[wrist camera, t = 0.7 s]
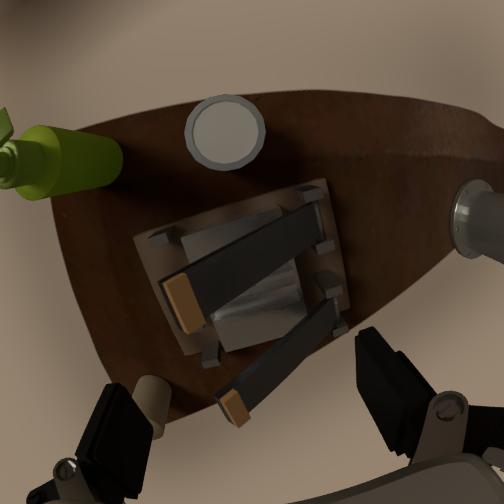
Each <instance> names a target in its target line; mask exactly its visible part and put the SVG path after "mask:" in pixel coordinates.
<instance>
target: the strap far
mask: <svg viewBox="0 0 504 504" xmlns="http://www.w3.org/2000/svg"><path fill="white" fill-rule="evenodd" d="M340 323H341V315H340V309H339V303H338V297H337V296H335V297H332V298H329V299H327V298H326V297H325V298H324V299H323V300H322V301H321V302H320V303H319V304H318V305H317V306H315V307H314V308H313V309H312V310H311V311H310V312H309V313H308V314H307V315H306V316H305V317H304V318H303V319H302V320H301V321H300V322H299V323H298V324H296V325H295V326H294V327H293V328H292V329H291V330H290V331H289V332H288V333H287V334H286V335H284V336H283V337H282V338H281V339H280V340H279V341H278V342H277V343H276V344H274V345H273V346H272V347H271V348H270V349H269V350H268V351H266V352H265V353H264V354H263V355H262V356H261V357H259V358H258V359H257V360H256V361H255V362H254V363H252V364H251V365H250V366H249V367H248V368H247V369H245V370H244V371H243V372H242V373H240V374H239V375H238V376H237V377H236V378H234V379H233V380H232V381H231V382H229V383H228V384H227V385H226V386H224V387H223V388H222V389H221V390H219V391H218V392H217V393H216V394H214V395H213V396H214V398H215V400H216V401H217V403H218V405H219V406H220V408H221V410H222V412H223V413H224V415H225V417H226V418H227V420H228V421H229V422H230V423H232V424H233V425H235V426H236V427H238V428H240V427H241V426H242V425H243V424H245V423H246V422H247V421H248V420H249V419H250V418H251V417H250V415H249V412H250V411H251V410H252V409H253V408H255V407H256V406H257V405H258V404H259V403H260V402H261V401H262V400H263V399H265V398H266V397H267V396H268V395H269V394H270V393H271V392H272V391H273V390H274V389H275V388H276V387H277V386H278V385H279V384H280V383H281V382H282V381H283V380H284V379H285V378H287V377H288V375H290V374H291V372H293V370H295V369H296V368H297V367H298V365H299V364H300V363H301V362H302V361H303V360H304V359H305V358H306V357H307V356H308V355H309V354H310V353H311V352H312V351H313V350H314V349H315V348H316V347H317V346H318V344H319V343H320V342H321V341H322V340H323V339H324V338H325V337H326V336H327V335H328V333H329V332H330V331H331V330H332V329H333V328H334V327H335V326H336V325H339V324H340Z"/></svg>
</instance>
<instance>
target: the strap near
mask: <svg viewBox="0 0 504 504" xmlns="http://www.w3.org/2000/svg"><path fill="white" fill-rule="evenodd" d="M324 239H326V235H325V230H324V226H323V221H322V217H321V213H320V208H319V204H318V200H314V201H311V202H307V203H306V204H304V205H302V206H300V207H298V208H296V209H294V210H293V211H291V212H289V213H287V214H285V215H283V216H281V217H279V218H277V219H275V220H273V221H271V222H269V223H267V224H265V225H263V226H261V227H259V228H257V229H255V230H253V231H252V232H250V233H248V234H246V235H244V236H242V237H240V238H238V239H236V240H234V241H232V242H230V243H228V244H227V245H225V246H223V247H221V248H219V249H217V250H215V251H213V252H211V253H209V254H208V255H206V256H204V257H202V258H200V259H198V260H196V261H194V262H192V263H191V264H189V265H187V266H185V267H183V268H181V269H179V270H177V271H176V272H174V273H172V274H170V275H168V276H166V277H164V278H163V279H161V280H159V281H157V282H158V285H159V287H160V289H161V292H162V294H163V296H164V298H165V301H166V303H167V305H168V307H169V310H170V312H171V314H172V316H173V318H174V321H175V323H176V325H177V327H178V329H180V330H181V331H183V332H185V333H187V334H191V333H192V332H194V331H195V330H197V329H198V328H200V327H201V326H203V325H204V324H206V321H205V318H206V317H208V316H209V315H211V314H212V313H214V312H215V311H217V310H218V309H220V308H221V307H223V306H224V305H226V304H227V303H229V302H230V301H232V300H233V299H235V298H236V297H238V296H239V295H241V294H242V293H244V292H245V291H247V290H248V289H249V288H251V287H252V286H254V285H255V284H257V283H258V282H260V281H261V280H263V279H264V278H265V277H267V276H268V275H270V274H271V273H273V272H274V271H276V270H277V269H278V268H280V267H281V266H283V265H284V264H286V263H287V262H288V261H290V260H291V259H293V258H294V257H296V256H297V255H298V254H300V253H301V252H303V251H304V250H305V249H307V248H308V247H310V246H311V245H312V244H314V243H315V242H317V241H322V240H324Z"/></svg>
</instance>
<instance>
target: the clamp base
mask: <svg viewBox="0 0 504 504" xmlns="http://www.w3.org/2000/svg"><path fill="white" fill-rule="evenodd" d="M314 200H318V204H319V208H320V213H321V217H322V221H323V226H324V230H325V235H326V239H324V240H322V241H317V242H315V243H314V244H312V245H311V246H310V247H308V248H307V249H305V250H304V251H303V252H301V253H300V254H298V255H297V256H296V257H294V258H293V259H291V260H290V261H288V262H287V263H286V264H284V265H283V266H281V267H280V268H278V269H277V270H276V271H274V272H273V273H271V274H270V275H268V276H267V277H265V278H264V279H263V280H261V281H260V282H258V283H257V284H255V285H254V286H252V287H251V288H249V289H248V290H247V291H245V292H244V293H242V294H241V295H239V296H238V297H236V298H235V299H233V300H232V301H230V302H229V303H227V304H226V305H224V306H223V307H221V308H220V309H218V310H217V311H215V312H214V313H212V314H211V315H209V316H208V317H206V318H205V321H206V324H204V325H203V326H201V327H200V328H198V329H197V330H195V331H194V332H192V333H191V334H187V333H185V332H183V331H181V330H180V329H178V327H177V325H176V323H175V321H174V318H173V316H172V314H171V312H170V310H169V307H168V305H167V303H166V301H165V298H164V296H163V294H162V292H161V289H160V287H159V285H158V282H157V281H159V280H161V279H163V278H164V277H166V276H168V275H170V274H172V273H174V272H176V271H177V270H179V269H181V268H183V267H185V266H187V265H189V264H191V263H192V262H194V261H196V260H198V259H200V258H202V257H204V256H206V255H208V254H209V253H211V252H213V251H215V250H217V249H219V248H221V247H223V246H225V245H227V244H228V243H230V242H232V241H234V240H236V239H238V238H240V237H242V236H244V235H246V234H248V233H250V232H252V231H253V230H255V229H257V228H259V227H261V226H263V225H265V224H267V223H269V222H271V221H273V220H275V219H277V218H279V217H281V216H283V215H285V214H287V213H289V212H291V211H293V210H294V209H296V208H298V207H300V206H302V205H304V204H306V203H307V202H311V201H314ZM133 240H134V242H135V245H136V248H137V250H138V253H139V255H140V258H141V260H142V263H143V265H144V268H145V270H146V273H147V275H148V277H149V280H150V282H151V284H152V287H153V289H154V291H155V294H156V296H157V298H158V300H159V303H160V305H161V307H162V309H163V311H164V314H165V316H166V318H167V320H168V322H169V324H170V326H171V328H172V330H173V332H174V334H175V336H176V338H177V340H178V342H179V344H180V346H181V348H182V350H183V352H184V354H185V356H186V355H191V354H195V353H200V352H202V359H201V363H202V365H203V367H204V369H205V368H210V367H214V366H219V365H220V362H221V347H224V350H225V352H229V351H233V350H237V349H241V348H244V347H248V346H252V345H255V344H259V343H263V342H266V341H270V340H273V339H277V338H280V337H283V336H284V335H286V334H287V333H288V332H289V331H290V330H291V329H292V328H293V327H294V326H295V325H296V324H298V323H299V322H300V321H301V320H302V319H303V318H304V317H305V316H306V315H307V314H308V313H309V312H310V311H311V310H312V309H313V308H314V307H315V306H317V305H318V304H319V303H320V302H321V301H322V300H323V299H324V298H325V297H326V298H327V299H329V298H332V297H335V296H337V297H338V303H339V309H340V312H341V311H343V310H346V309H349V308H350V303H349V296H348V289H347V283H346V277H345V271H344V265H343V259H342V254H341V248H340V243H339V238H338V233H337V228H336V223H335V218H334V214H333V209H332V205H331V200H330V196H329V192H328V188H327V184H326V180H325V178H319V179H315V180H311V181H307V182H303V183H300V184H296V185H292V186H289V187H285V188H281V189H278V190H274V191H271V192H267V193H264V194H260V195H257V196H253V197H250V198H246V199H243V200H240V201H236V202H233V203H230V204H227V205H223V206H220V207H217V208H214V209H211V210H208V211H204V212H201V213H198V214H195V215H192V216H189V217H186V218H183V219H180V220H177V221H174V222H171V223H168V224H165V225H162V226H160V227H157V228H154V229H151V230H148V231H145V232H143V233H140V234H137V235H136V236H134V237H133ZM330 332H331V334H332V335H333V337H337V336H340V335H343V334H346V333H348V332H349V331H348V325H347V324H346V322H345V321H344V319H343V318H342V316H341V323H340V324H339V325H336V326H335V327H334V328H333V329H332V330H331V331H330Z"/></svg>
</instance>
